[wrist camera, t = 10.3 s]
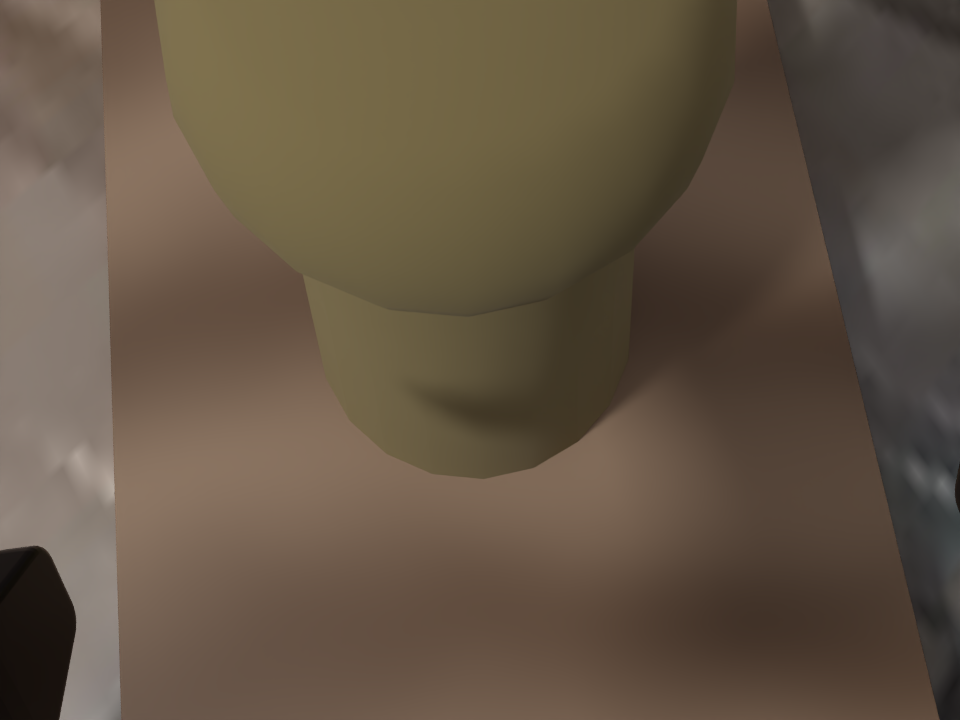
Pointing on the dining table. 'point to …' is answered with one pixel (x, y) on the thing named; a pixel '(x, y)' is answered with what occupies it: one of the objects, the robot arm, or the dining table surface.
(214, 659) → the walnut board
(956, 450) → the dining table surface
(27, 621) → the robot arm
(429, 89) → the cork
